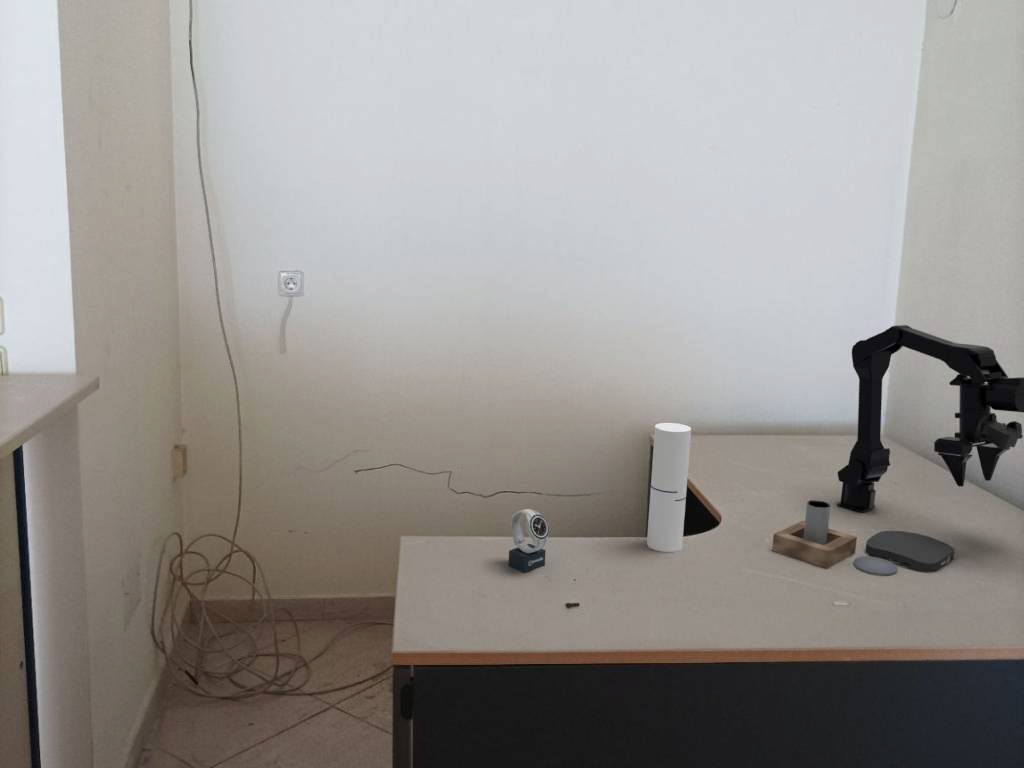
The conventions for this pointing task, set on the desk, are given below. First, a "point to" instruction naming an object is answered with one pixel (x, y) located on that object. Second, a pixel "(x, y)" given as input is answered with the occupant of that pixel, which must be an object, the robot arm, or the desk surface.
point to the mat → (875, 566)
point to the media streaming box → (910, 550)
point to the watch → (528, 554)
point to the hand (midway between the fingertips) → (974, 483)
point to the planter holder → (814, 546)
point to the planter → (817, 521)
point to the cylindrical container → (668, 486)
